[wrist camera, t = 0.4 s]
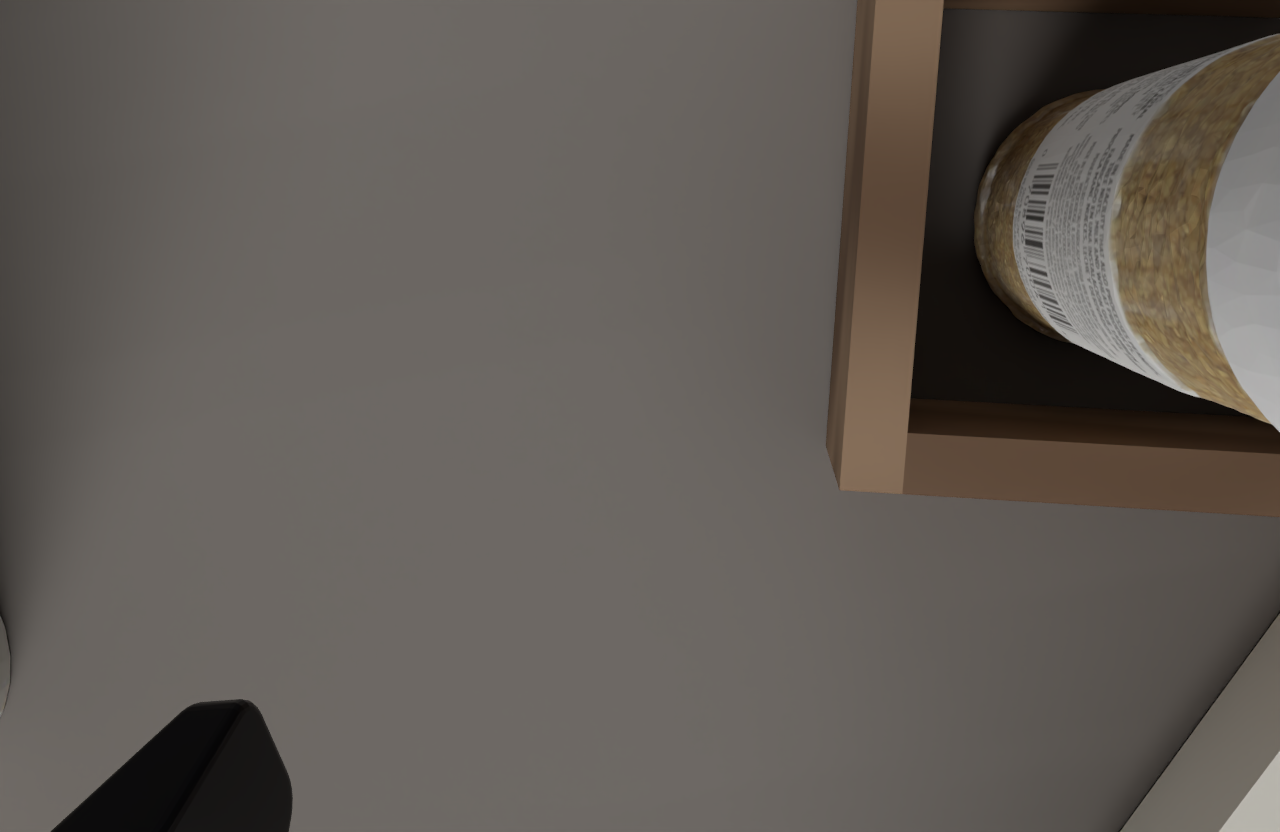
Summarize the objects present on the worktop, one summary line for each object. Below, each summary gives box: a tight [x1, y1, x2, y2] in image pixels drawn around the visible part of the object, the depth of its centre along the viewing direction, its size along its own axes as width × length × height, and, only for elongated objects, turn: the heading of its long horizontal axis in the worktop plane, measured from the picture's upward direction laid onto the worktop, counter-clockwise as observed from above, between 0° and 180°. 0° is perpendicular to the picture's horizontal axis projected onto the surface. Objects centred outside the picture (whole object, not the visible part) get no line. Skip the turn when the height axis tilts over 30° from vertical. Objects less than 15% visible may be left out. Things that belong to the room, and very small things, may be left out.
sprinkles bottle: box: [974, 34, 1280, 432], centre depth 15 cm, size 5×5×13 cm
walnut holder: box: [826, 0, 1280, 517], centre depth 20 cm, size 9×9×4 cm
